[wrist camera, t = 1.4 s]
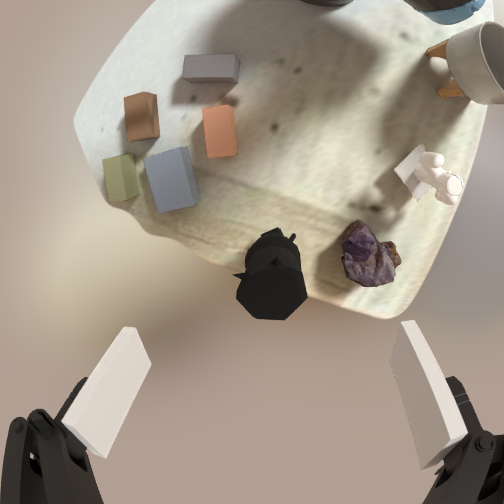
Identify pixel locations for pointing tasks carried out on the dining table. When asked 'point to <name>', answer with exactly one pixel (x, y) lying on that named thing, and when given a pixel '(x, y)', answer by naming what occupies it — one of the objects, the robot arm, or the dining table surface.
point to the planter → (474, 63)
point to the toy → (272, 277)
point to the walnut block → (141, 116)
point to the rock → (368, 257)
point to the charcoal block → (211, 68)
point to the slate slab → (172, 180)
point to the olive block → (120, 177)
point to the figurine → (429, 176)
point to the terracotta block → (220, 131)
